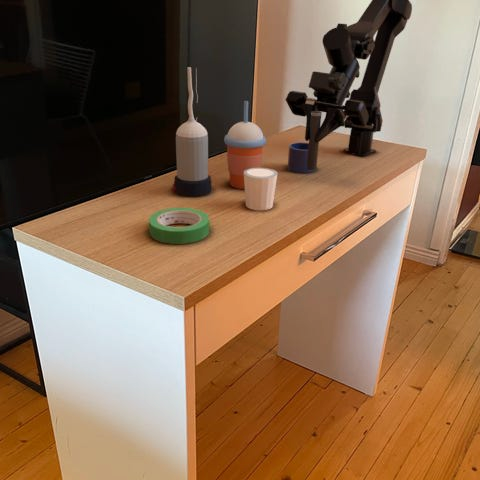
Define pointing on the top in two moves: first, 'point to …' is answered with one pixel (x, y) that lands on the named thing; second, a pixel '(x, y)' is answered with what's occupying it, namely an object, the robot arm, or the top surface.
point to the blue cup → (298, 158)
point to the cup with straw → (243, 149)
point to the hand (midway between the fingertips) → (310, 140)
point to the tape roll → (179, 234)
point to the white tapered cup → (259, 188)
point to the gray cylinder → (313, 140)
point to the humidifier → (192, 154)
